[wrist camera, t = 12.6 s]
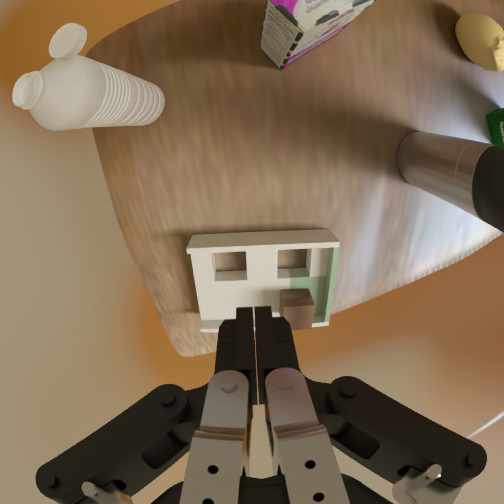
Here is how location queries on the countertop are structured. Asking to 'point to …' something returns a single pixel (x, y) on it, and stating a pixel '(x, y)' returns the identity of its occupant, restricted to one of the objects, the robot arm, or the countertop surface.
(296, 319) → the walnut block
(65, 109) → the water bottle
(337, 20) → the candy bar box
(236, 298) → the track
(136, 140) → the countertop surface
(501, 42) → the sculpture
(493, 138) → the milk carton
